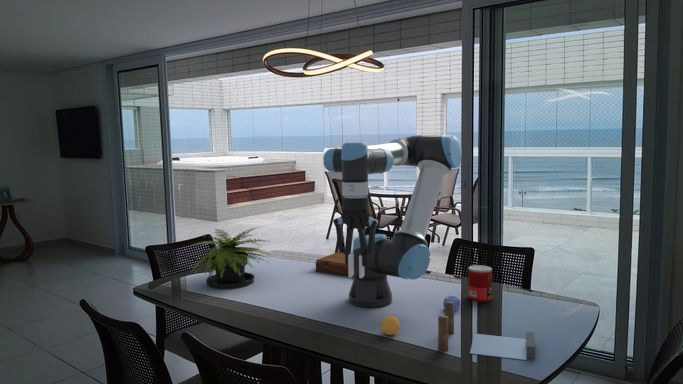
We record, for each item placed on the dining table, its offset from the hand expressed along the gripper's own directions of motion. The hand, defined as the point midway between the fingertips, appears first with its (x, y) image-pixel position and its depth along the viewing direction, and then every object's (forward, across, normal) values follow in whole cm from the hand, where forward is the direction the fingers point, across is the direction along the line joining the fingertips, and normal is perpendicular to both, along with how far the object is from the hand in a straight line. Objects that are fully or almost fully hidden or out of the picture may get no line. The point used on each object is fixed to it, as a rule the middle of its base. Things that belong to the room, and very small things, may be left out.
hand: (356, 276), depth 150 cm
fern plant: (+17, -64, +35) cm, 75 cm away
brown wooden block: (+17, -24, +66) cm, 72 cm away
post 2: (+17, +26, +6) cm, 31 cm away
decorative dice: (+17, +24, +27) cm, 40 cm away
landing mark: (+17, +40, 0) cm, 43 cm away
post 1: (+17, +26, -6) cm, 31 cm away
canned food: (+17, +32, +41) cm, 55 cm away
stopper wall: (+17, +48, 0) cm, 51 cm away
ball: (+14, +10, 0) cm, 17 cm away
